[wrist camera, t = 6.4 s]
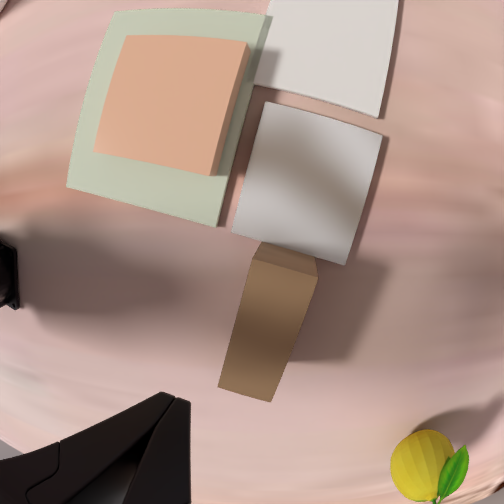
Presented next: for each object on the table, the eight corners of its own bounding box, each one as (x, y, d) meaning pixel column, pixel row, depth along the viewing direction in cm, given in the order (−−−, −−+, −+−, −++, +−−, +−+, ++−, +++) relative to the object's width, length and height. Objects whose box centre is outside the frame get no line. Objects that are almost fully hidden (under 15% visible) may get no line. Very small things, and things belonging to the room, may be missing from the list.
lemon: (383, 464, 22) (397, 547, 12) (371, 431, 21) (388, 528, 11) (447, 437, 20) (477, 515, 11) (444, 400, 20) (485, 487, 10)
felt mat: (217, 226, 19) (215, 227, 18) (69, 186, 20) (66, 186, 19) (274, 19, 15) (273, 16, 15) (117, 13, 16) (114, 11, 16)
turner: (302, 367, 20) (301, 409, 16) (206, 340, 21) (186, 376, 17) (380, 137, 16) (404, 125, 12) (266, 103, 17) (256, 81, 12)
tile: (107, 152, 18) (217, 176, 18) (92, 151, 17) (209, 176, 16) (138, 43, 16) (251, 52, 16) (126, 35, 15) (246, 42, 14)
